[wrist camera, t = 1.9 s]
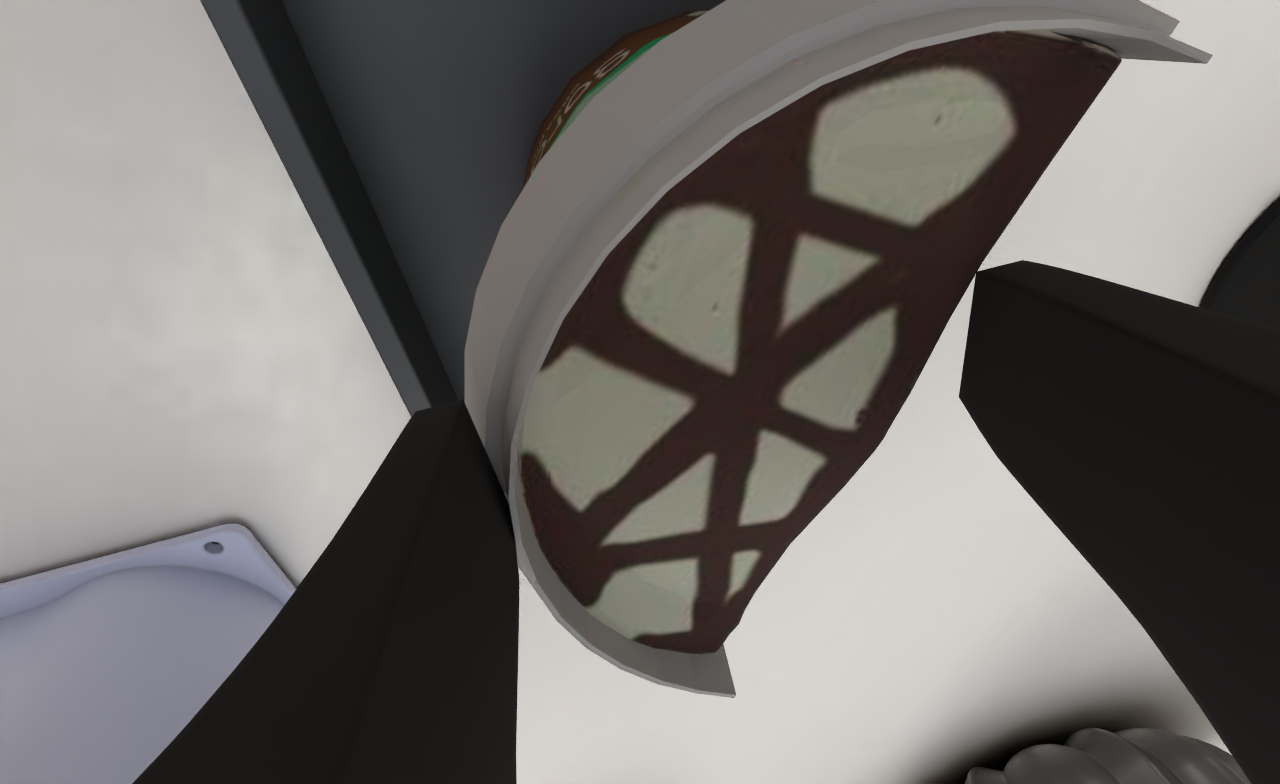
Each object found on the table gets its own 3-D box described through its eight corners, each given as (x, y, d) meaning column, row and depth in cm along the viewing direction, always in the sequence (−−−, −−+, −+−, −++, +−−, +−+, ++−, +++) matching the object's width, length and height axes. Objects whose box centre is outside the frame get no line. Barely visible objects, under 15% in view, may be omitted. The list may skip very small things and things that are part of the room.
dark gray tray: (476, 482, 22) (475, 546, 20) (142, -235, 11) (61, -269, 9) (840, 385, 22) (878, 437, 20) (836, -389, 12) (914, -454, 10)
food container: (565, -192, 13) (712, -387, 4) (834, -46, 15) (1256, -1, 7) (421, 357, 18) (372, 699, 10) (629, 403, 21) (722, 715, 13)
